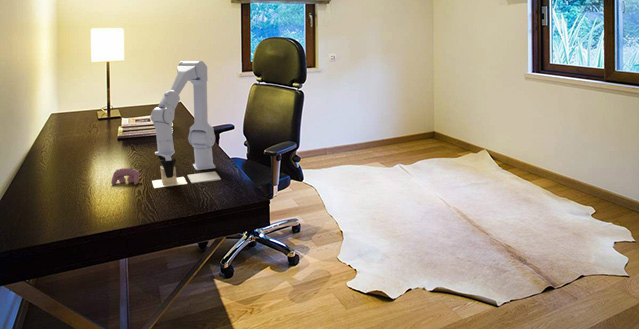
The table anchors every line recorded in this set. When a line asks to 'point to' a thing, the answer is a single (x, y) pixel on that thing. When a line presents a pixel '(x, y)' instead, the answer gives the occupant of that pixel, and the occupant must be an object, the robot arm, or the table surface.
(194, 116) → the robot arm
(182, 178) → the cream card
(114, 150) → the table surface
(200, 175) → the grey mat
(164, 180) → the maple block
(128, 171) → the video game controller
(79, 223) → the table surface
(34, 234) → the table surface
